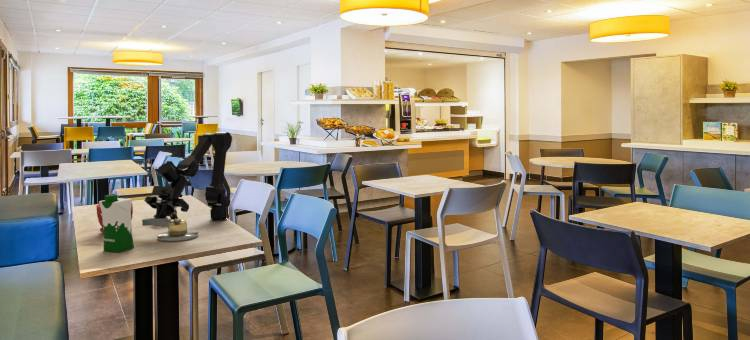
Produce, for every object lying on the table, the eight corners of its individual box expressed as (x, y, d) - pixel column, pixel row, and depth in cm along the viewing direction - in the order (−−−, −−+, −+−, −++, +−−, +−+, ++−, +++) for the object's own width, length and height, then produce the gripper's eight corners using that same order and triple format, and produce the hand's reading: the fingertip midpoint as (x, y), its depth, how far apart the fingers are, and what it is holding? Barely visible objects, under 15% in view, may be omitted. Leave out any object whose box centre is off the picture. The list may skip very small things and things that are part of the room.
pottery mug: (176, 227, 227) (165, 211, 225) (158, 235, 229) (147, 220, 227) (186, 214, 238) (176, 199, 236) (170, 222, 240) (159, 208, 238)
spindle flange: (206, 234, 211) (205, 217, 211) (178, 243, 198) (177, 225, 197) (177, 231, 218) (177, 214, 217) (148, 239, 204) (147, 222, 203)
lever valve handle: (188, 230, 212) (187, 215, 211) (186, 234, 205) (185, 218, 204) (145, 233, 208) (144, 217, 207) (141, 237, 201) (140, 221, 200)
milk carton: (99, 251, 188) (95, 195, 185) (119, 245, 196) (116, 191, 194) (119, 253, 185) (115, 197, 182) (138, 247, 193) (135, 192, 191)
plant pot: (90, 234, 212) (88, 205, 211) (118, 227, 224) (116, 199, 223) (114, 237, 207) (112, 207, 205) (141, 230, 219) (139, 201, 217)
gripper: (146, 176, 212) (125, 208, 204) (181, 178, 205) (161, 212, 196) (162, 191, 221) (143, 223, 212) (197, 194, 213) (179, 228, 205)
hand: (156, 221), depth 206 cm, fingers closed
